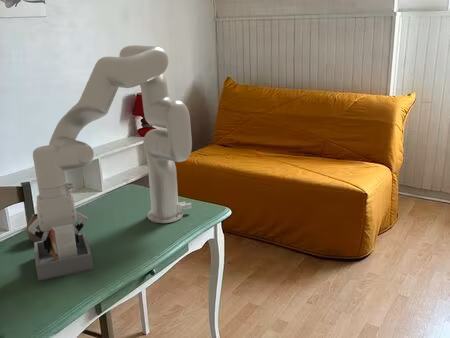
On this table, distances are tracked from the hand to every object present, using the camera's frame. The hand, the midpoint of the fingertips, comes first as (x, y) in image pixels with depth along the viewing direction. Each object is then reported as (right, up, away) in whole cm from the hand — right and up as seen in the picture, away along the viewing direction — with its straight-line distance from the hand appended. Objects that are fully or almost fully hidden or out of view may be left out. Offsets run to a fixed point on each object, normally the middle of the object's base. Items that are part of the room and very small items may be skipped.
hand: (62, 247), depth 133 cm
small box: (0, -3, +1) cm, 3 cm away
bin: (0, -5, +2) cm, 5 cm away
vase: (-13, -1, +16) cm, 21 cm away
